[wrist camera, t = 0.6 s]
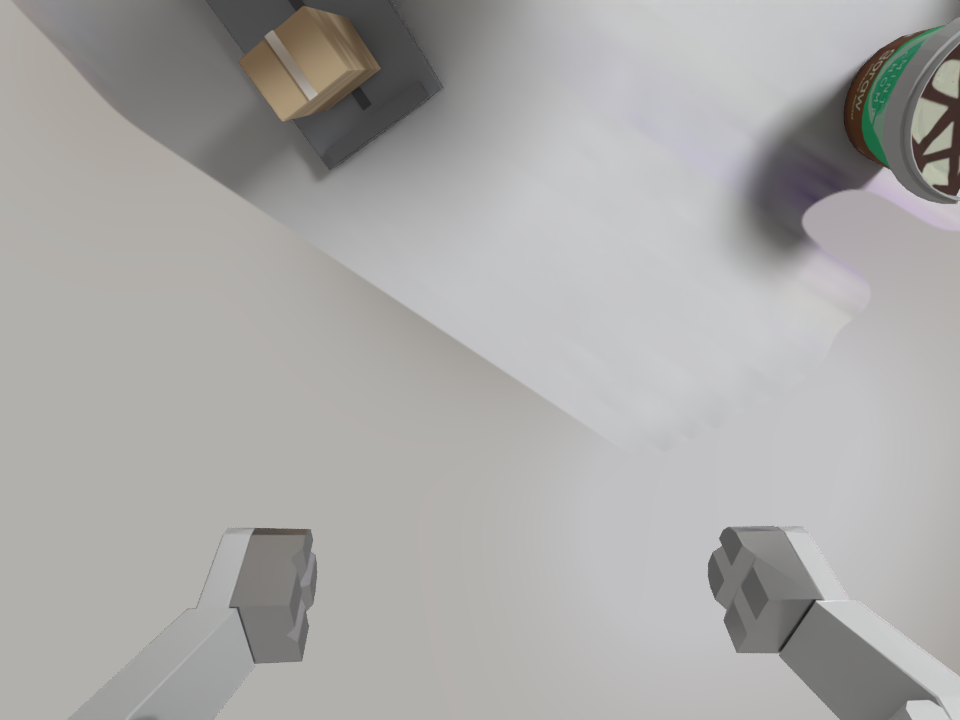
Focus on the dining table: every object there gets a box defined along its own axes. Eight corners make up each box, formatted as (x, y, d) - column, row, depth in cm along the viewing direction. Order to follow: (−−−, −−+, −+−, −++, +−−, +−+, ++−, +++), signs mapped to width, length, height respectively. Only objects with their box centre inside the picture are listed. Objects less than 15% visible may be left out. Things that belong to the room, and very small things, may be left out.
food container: (864, -4, 43) (955, -21, 34) (950, 7, 43) (1064, -8, 34) (804, 173, 48) (868, 199, 39) (879, 182, 48) (961, 210, 39)
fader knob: (381, 69, 44) (346, 71, 35) (328, 110, 46) (281, 122, 37) (347, 16, 43) (301, 4, 34) (293, 60, 45) (236, 60, 35)
